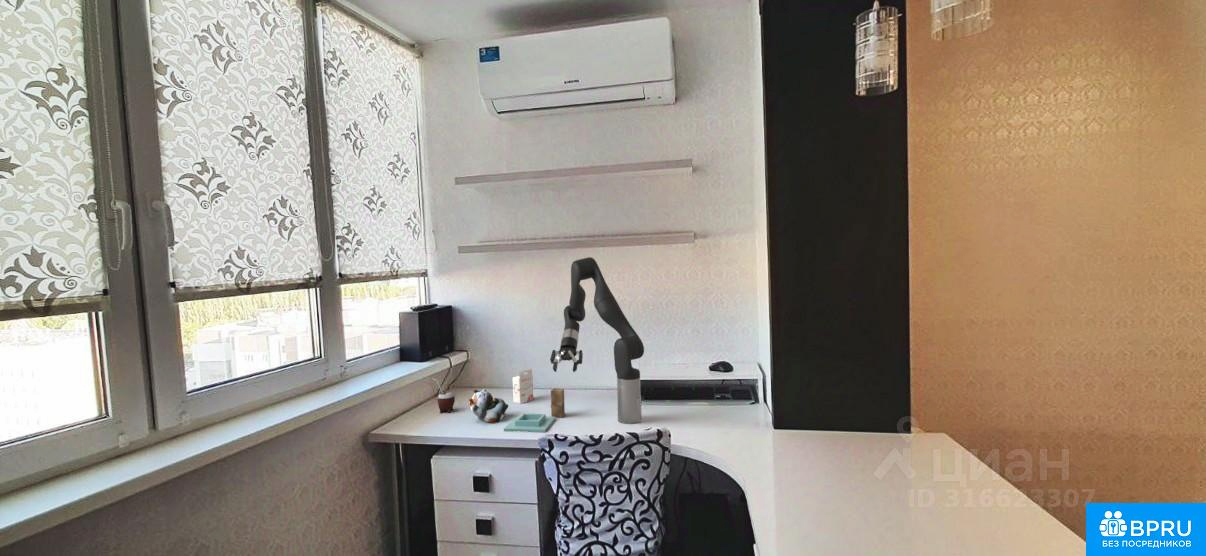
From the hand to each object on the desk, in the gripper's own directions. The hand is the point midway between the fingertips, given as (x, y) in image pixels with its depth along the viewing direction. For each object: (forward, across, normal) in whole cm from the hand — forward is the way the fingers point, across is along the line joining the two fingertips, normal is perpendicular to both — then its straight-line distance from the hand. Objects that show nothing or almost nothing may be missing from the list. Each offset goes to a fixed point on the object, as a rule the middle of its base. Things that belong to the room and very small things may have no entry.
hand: (564, 370), depth 212 cm
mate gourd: (+19, -51, +4) cm, 55 cm away
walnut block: (+20, 0, +2) cm, 21 cm away
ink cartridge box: (+6, -22, +17) cm, 29 cm away
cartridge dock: (+29, -8, -6) cm, 31 cm away
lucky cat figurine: (+25, -28, -2) cm, 37 cm away
